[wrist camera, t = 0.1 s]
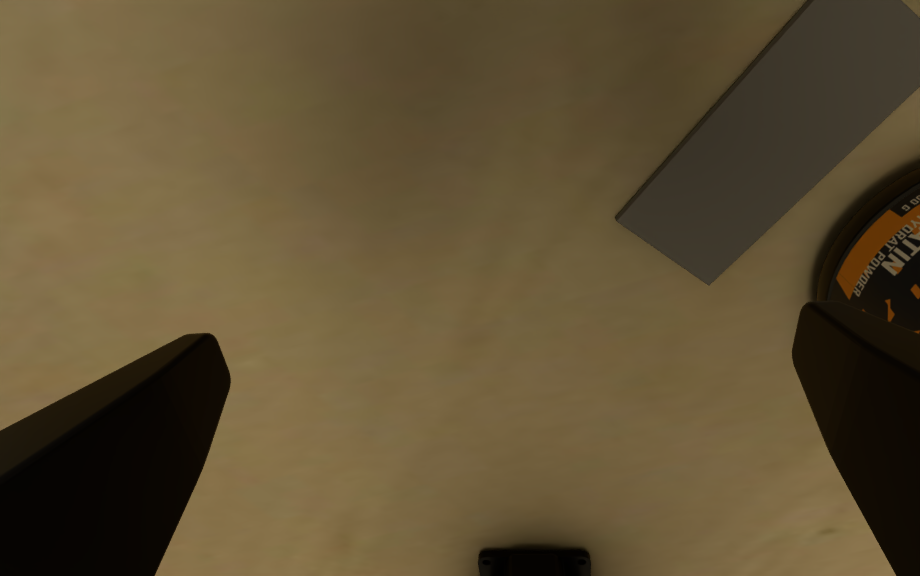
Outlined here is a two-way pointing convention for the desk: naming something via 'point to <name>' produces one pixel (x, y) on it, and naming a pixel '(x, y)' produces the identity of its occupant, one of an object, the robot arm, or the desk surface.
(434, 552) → the desk surface
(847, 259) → the supplement container
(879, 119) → the pads
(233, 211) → the desk surface
